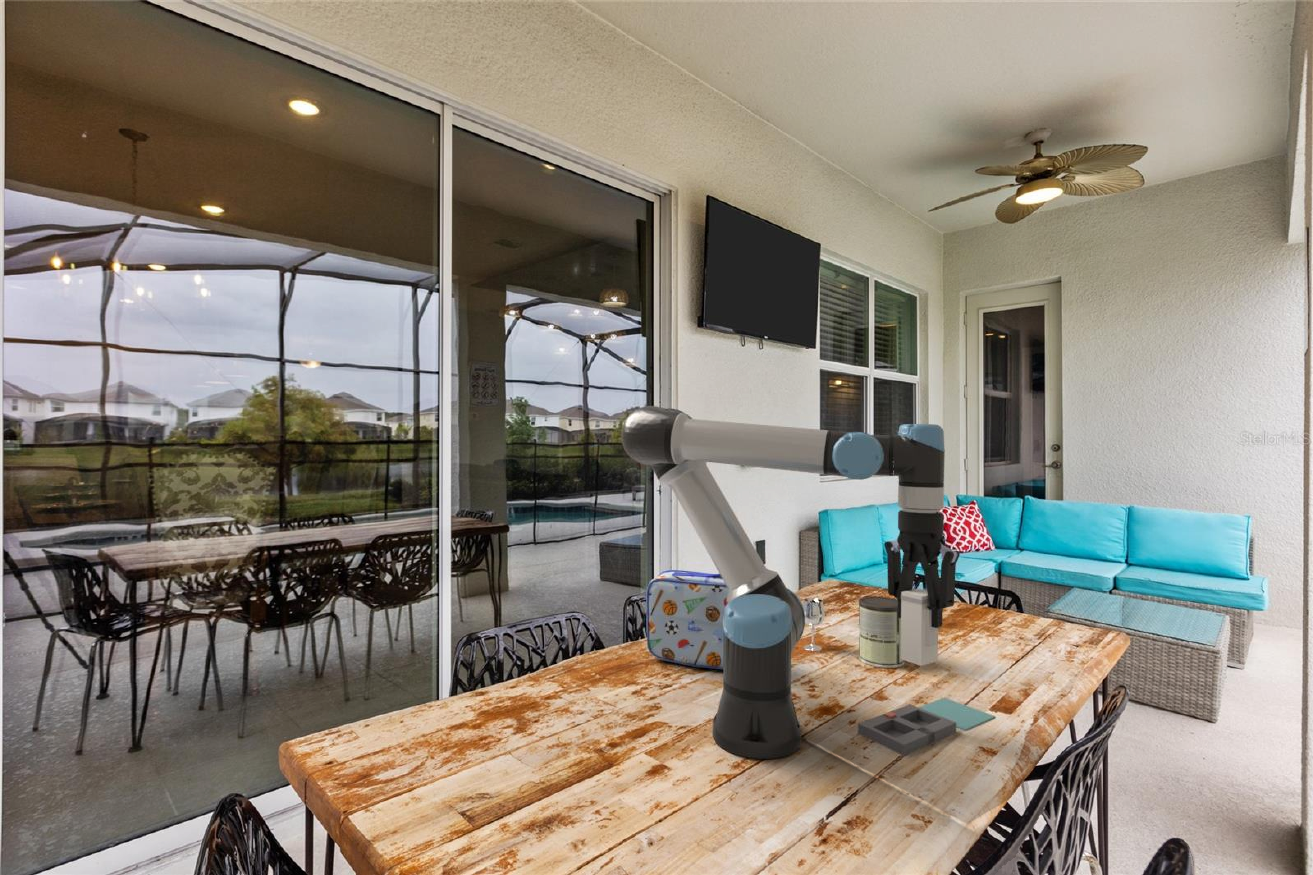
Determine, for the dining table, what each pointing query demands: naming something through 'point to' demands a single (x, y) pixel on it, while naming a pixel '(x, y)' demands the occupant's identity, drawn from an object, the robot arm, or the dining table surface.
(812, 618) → the wineglass
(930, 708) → the pad
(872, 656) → the coffee can
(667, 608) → the lunch box
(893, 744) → the power strip
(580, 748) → the dining table surface
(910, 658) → the block
